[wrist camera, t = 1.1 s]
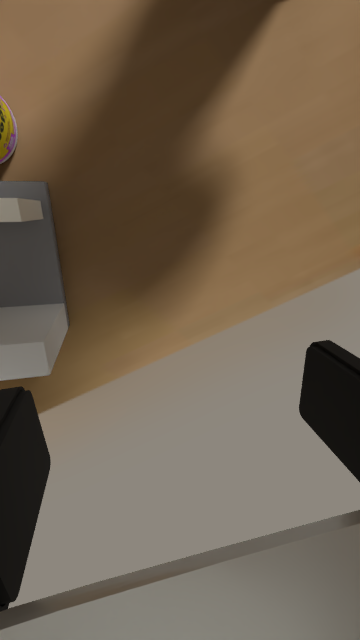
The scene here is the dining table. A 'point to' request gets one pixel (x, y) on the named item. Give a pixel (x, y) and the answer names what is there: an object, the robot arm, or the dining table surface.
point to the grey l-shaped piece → (30, 289)
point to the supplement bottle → (7, 131)
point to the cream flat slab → (19, 210)
